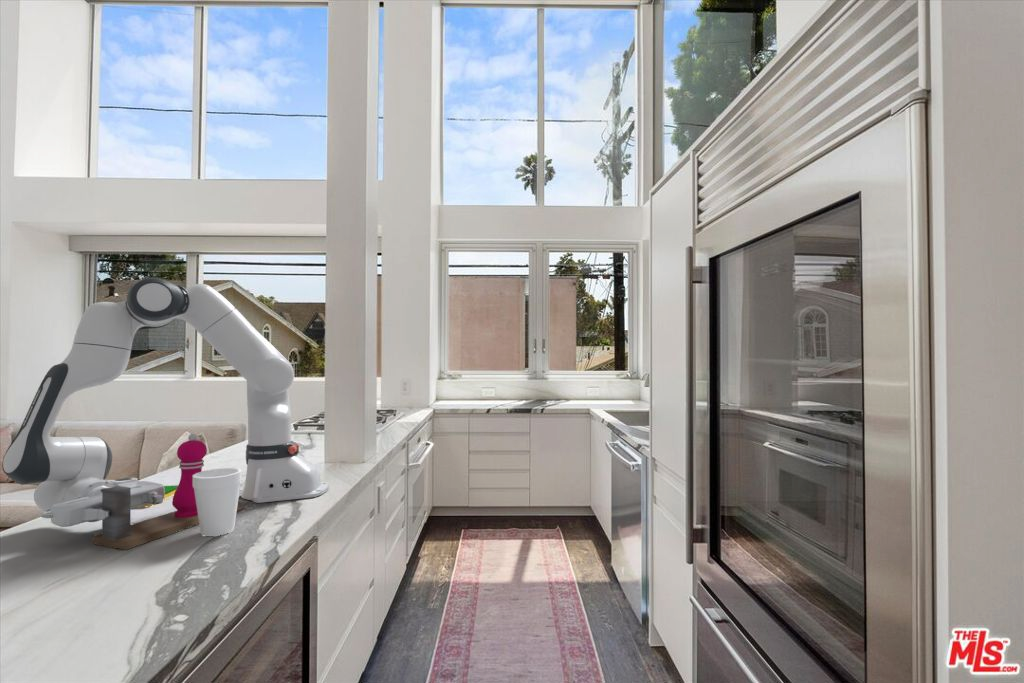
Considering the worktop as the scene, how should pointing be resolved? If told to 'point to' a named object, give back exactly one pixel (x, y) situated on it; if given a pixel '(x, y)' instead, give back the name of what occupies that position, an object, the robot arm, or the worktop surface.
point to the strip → (126, 535)
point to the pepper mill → (188, 476)
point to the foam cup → (217, 499)
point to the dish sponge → (168, 492)
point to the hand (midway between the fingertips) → (134, 506)
